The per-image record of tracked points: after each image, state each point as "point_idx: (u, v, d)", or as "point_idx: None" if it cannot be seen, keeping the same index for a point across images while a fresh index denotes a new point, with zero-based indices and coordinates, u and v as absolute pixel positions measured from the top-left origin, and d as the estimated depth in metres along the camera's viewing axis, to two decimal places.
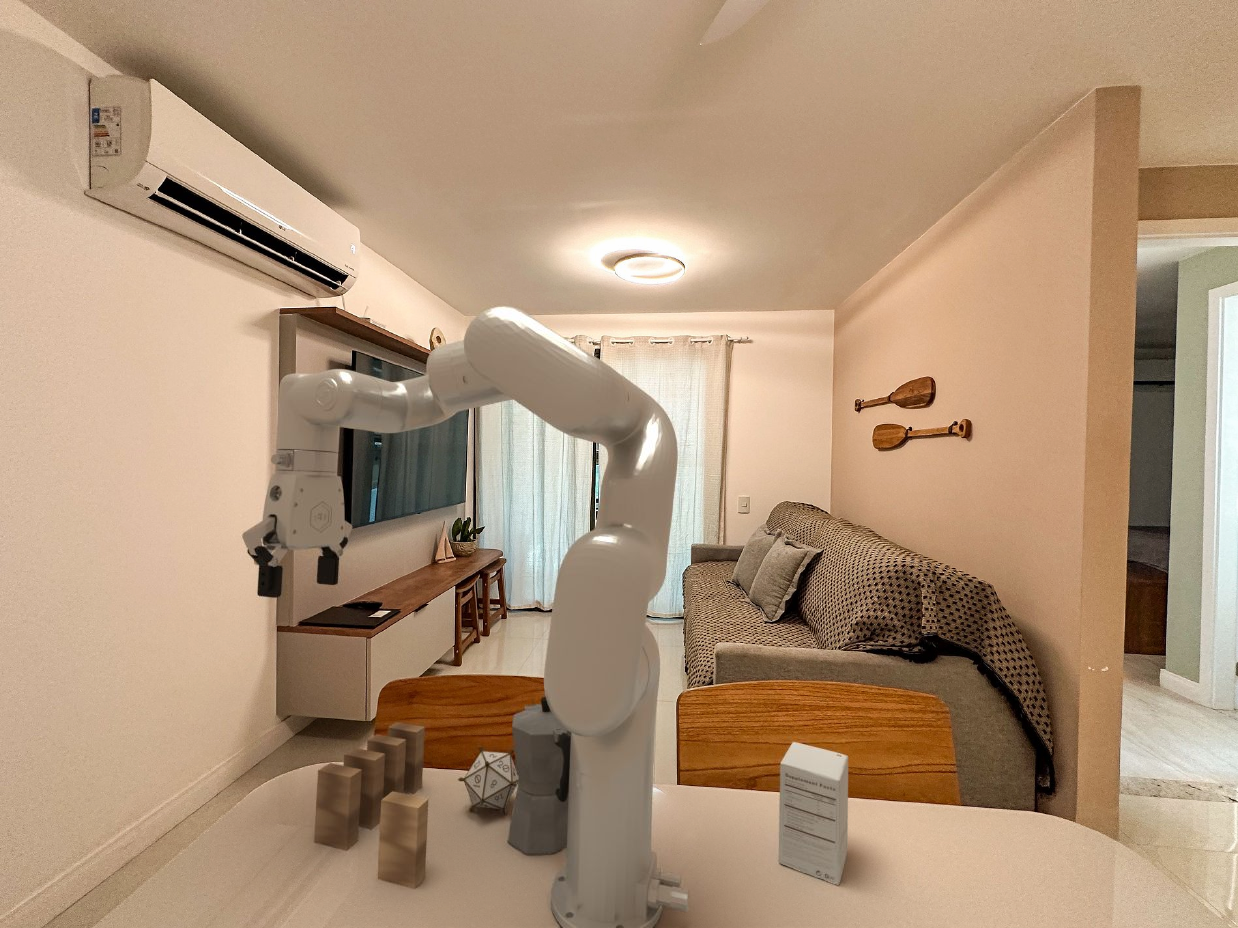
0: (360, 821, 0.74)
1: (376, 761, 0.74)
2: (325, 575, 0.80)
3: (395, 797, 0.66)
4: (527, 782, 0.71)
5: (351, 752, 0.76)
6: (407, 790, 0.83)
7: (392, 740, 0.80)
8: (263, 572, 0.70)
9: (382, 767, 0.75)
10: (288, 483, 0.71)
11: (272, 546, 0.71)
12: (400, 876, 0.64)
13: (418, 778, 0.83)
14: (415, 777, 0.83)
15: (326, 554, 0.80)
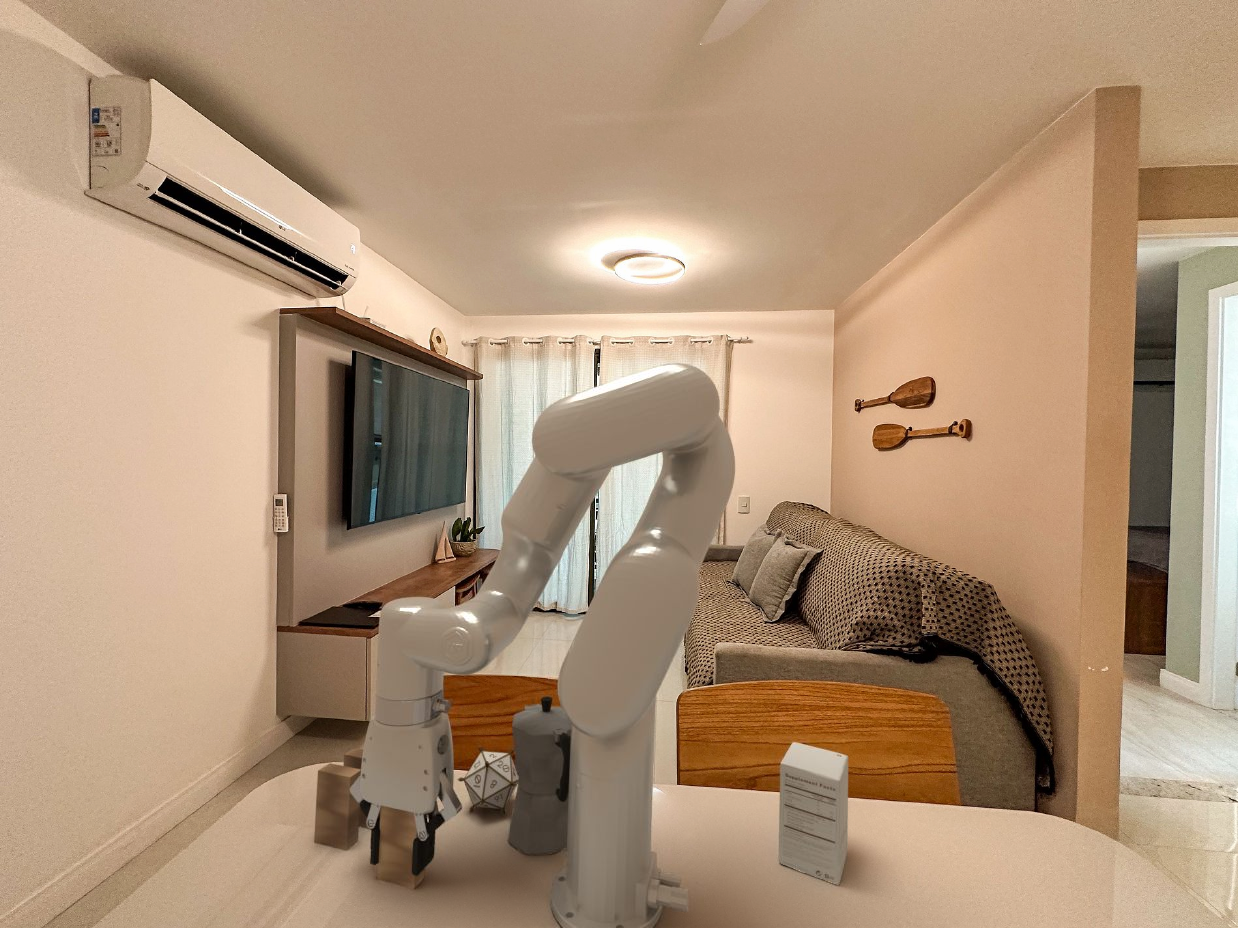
0: (360, 821, 0.74)
1: None
2: None
3: None
4: (527, 782, 0.71)
5: (351, 752, 0.76)
6: None
7: None
8: (430, 841, 0.64)
9: None
10: (449, 726, 0.66)
11: None
12: (400, 876, 0.64)
13: None
14: None
15: None
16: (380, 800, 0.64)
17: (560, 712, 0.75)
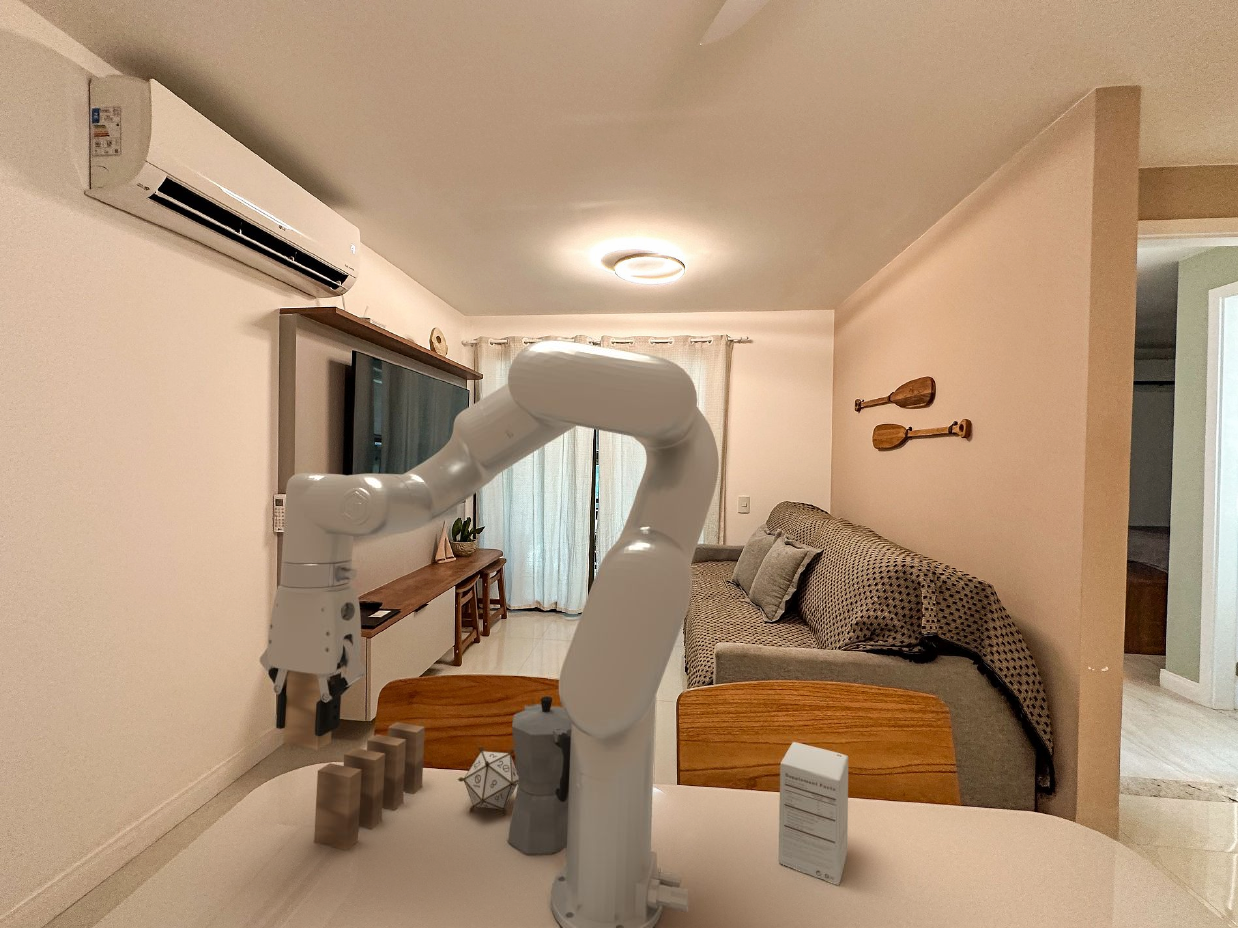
0: (360, 821, 0.74)
1: (376, 761, 0.74)
2: None
3: None
4: (527, 782, 0.71)
5: (351, 752, 0.76)
6: (407, 790, 0.83)
7: (392, 740, 0.80)
8: (334, 705, 0.65)
9: (382, 767, 0.75)
10: (356, 597, 0.67)
11: (331, 676, 0.65)
12: (304, 738, 0.65)
13: (418, 778, 0.83)
14: (415, 777, 0.83)
15: None
16: (285, 664, 0.65)
17: (560, 712, 0.75)
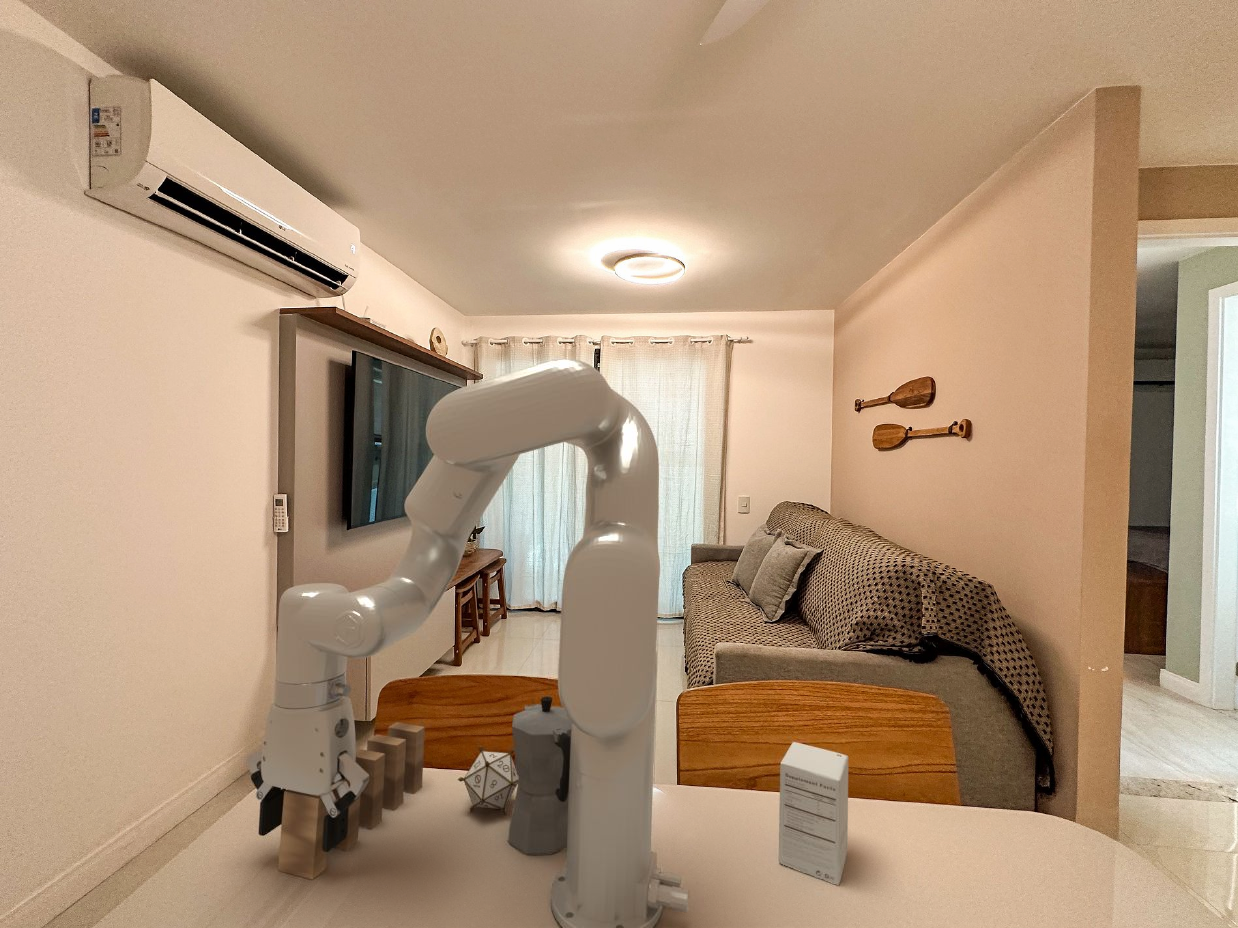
0: (360, 821, 0.74)
1: (376, 761, 0.74)
2: (275, 818, 0.67)
3: None
4: (527, 782, 0.71)
5: None
6: (407, 790, 0.83)
7: (392, 740, 0.80)
8: (342, 818, 0.64)
9: (382, 767, 0.75)
10: (350, 710, 0.67)
11: (333, 789, 0.65)
12: (299, 867, 0.65)
13: (418, 778, 0.83)
14: (415, 777, 0.83)
15: (273, 793, 0.67)
16: (279, 782, 0.64)
17: (560, 712, 0.75)
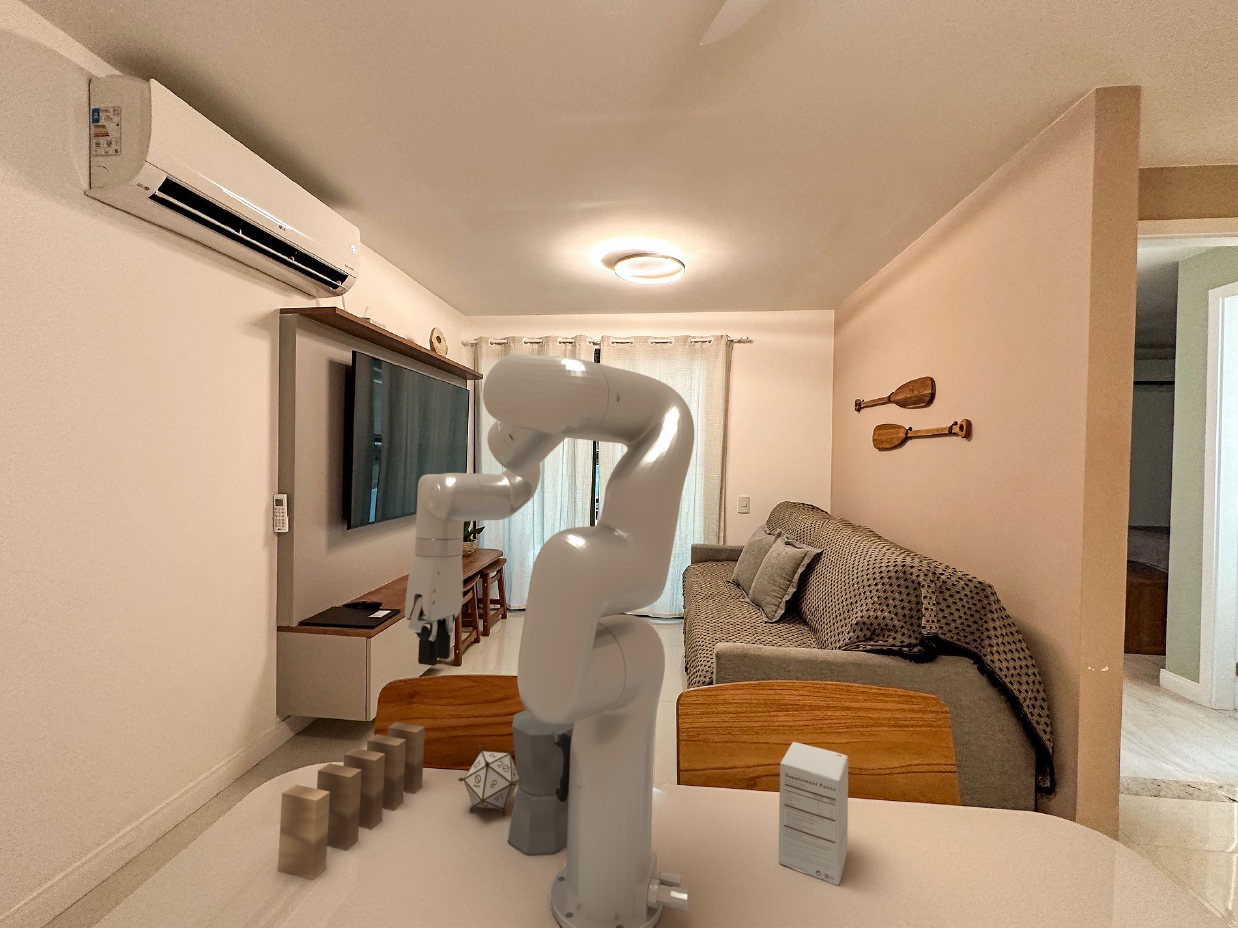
0: (360, 821, 0.74)
1: (376, 761, 0.74)
2: None
3: (297, 790, 0.66)
4: (527, 782, 0.71)
5: (351, 752, 0.76)
6: (407, 790, 0.83)
7: (392, 740, 0.80)
8: None
9: (382, 767, 0.75)
10: None
11: None
12: (299, 868, 0.64)
13: (418, 778, 0.83)
14: (415, 777, 0.83)
15: None
16: (441, 614, 0.89)
17: None
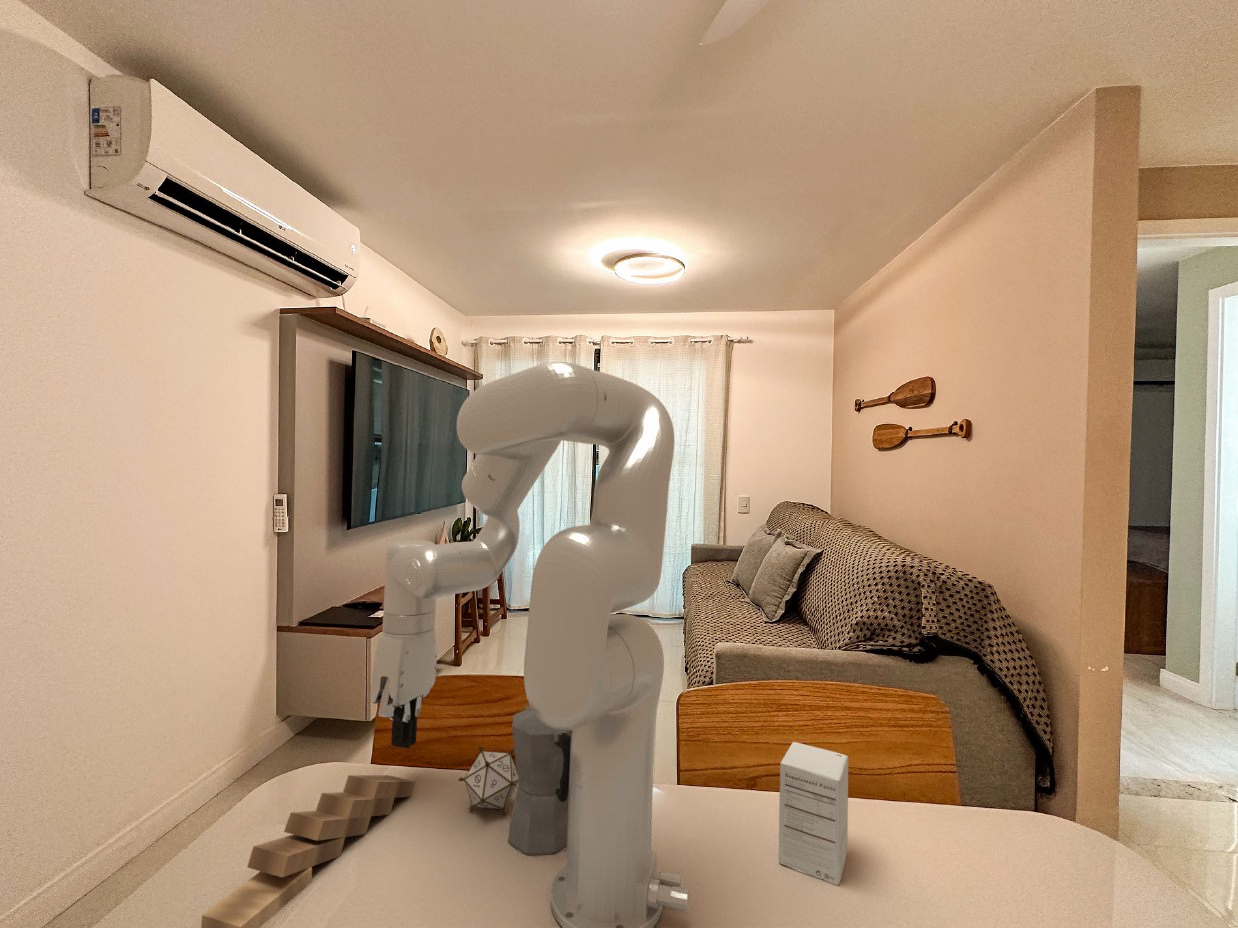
0: None
1: (320, 836, 0.65)
2: None
3: (210, 927, 0.56)
4: (527, 782, 0.71)
5: (289, 824, 0.67)
6: None
7: (340, 805, 0.70)
8: None
9: (332, 823, 0.67)
10: None
11: None
12: None
13: (406, 789, 0.80)
14: (403, 794, 0.80)
15: None
16: (410, 696, 0.82)
17: None
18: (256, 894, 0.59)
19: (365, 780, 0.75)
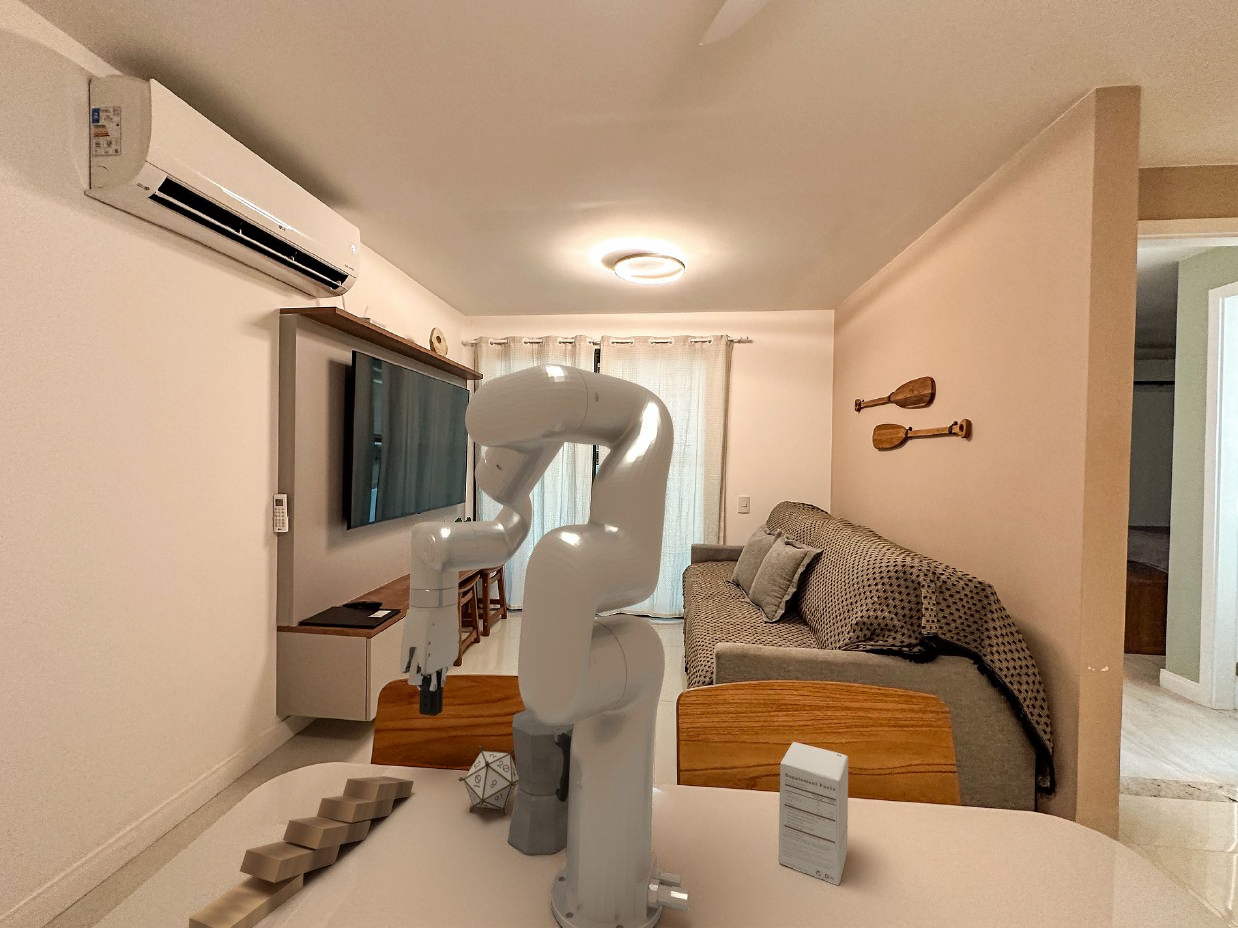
0: None
1: (320, 845, 0.64)
2: None
3: None
4: (527, 782, 0.71)
5: (288, 832, 0.65)
6: None
7: (342, 809, 0.70)
8: None
9: (332, 831, 0.66)
10: None
11: None
12: None
13: (405, 789, 0.80)
14: (402, 794, 0.80)
15: None
16: (437, 666, 0.87)
17: None
18: (244, 898, 0.59)
19: (365, 783, 0.75)
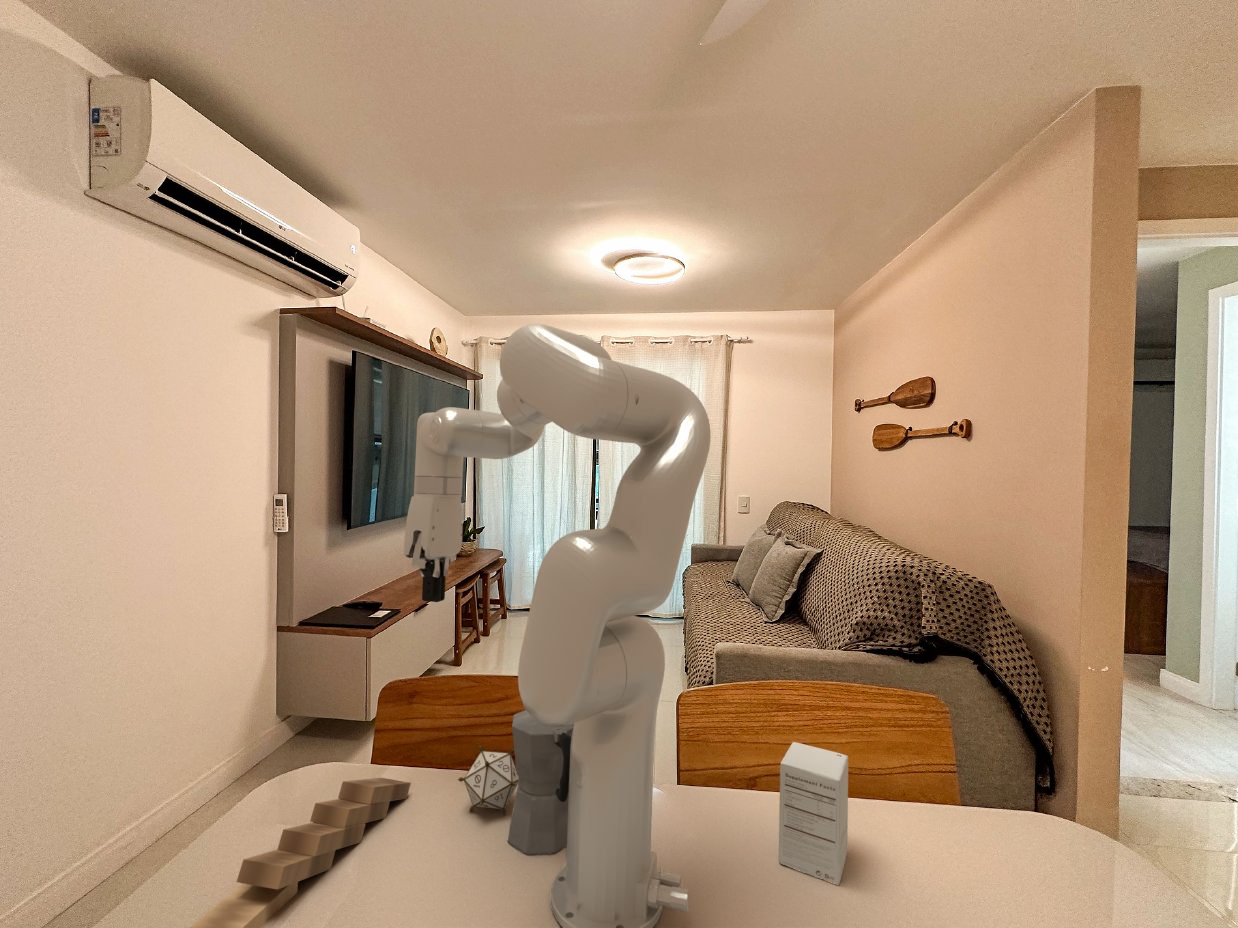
0: None
1: (318, 851, 0.63)
2: None
3: None
4: (527, 782, 0.71)
5: (283, 841, 0.64)
6: None
7: (336, 814, 0.69)
8: None
9: (328, 837, 0.65)
10: None
11: (443, 559, 0.92)
12: None
13: (402, 791, 0.80)
14: (399, 796, 0.79)
15: None
16: (440, 553, 0.88)
17: None
18: (241, 907, 0.57)
19: (360, 786, 0.74)
